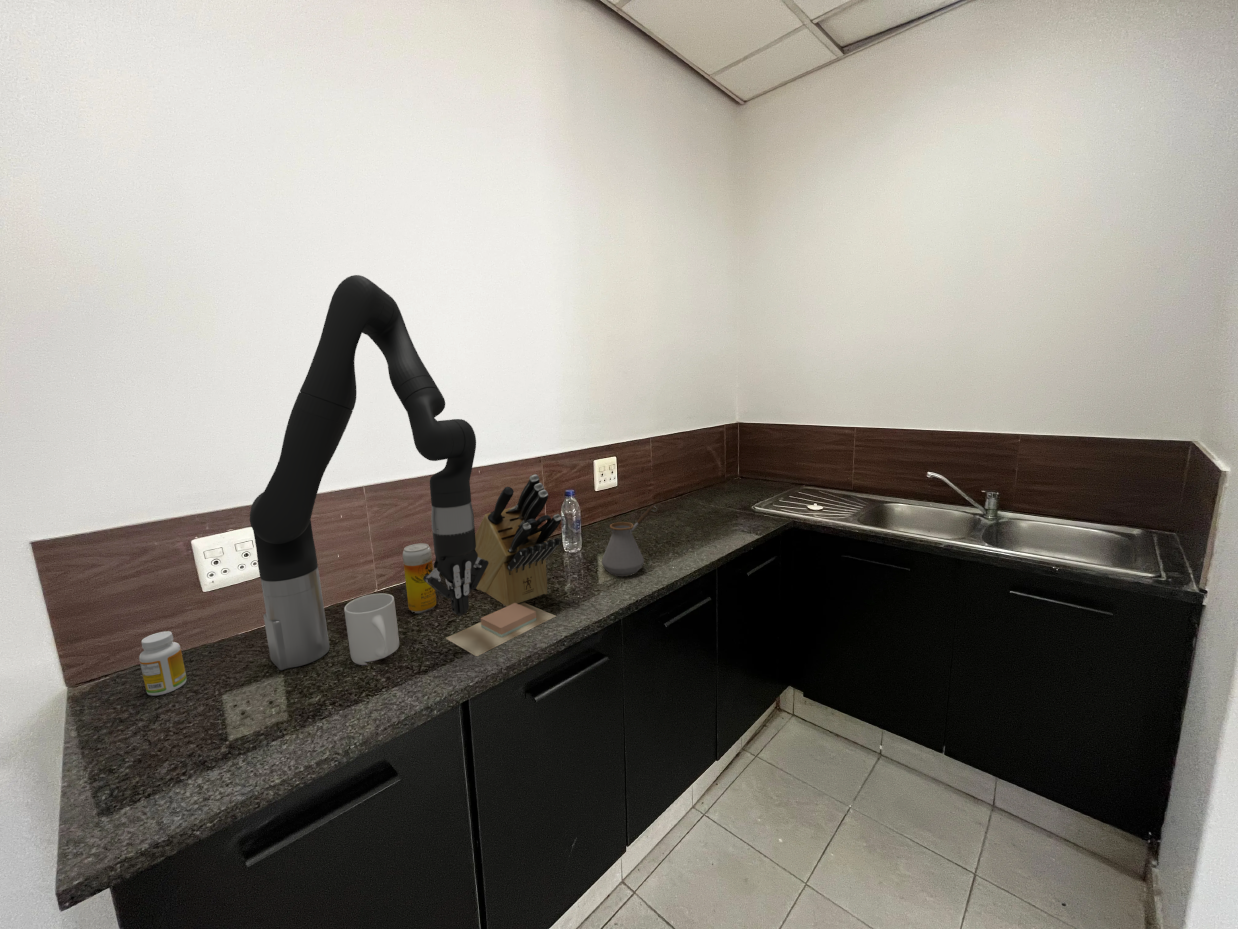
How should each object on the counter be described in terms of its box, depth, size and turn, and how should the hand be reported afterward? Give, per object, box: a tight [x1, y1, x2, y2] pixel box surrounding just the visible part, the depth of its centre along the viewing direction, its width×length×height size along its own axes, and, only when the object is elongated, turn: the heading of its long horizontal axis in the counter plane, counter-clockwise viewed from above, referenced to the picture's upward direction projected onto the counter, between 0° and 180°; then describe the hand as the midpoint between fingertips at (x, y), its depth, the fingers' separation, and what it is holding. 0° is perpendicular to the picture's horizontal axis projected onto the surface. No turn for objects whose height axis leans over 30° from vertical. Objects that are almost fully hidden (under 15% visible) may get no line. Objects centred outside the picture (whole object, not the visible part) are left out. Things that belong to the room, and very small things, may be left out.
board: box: [445, 602, 557, 657], centre depth 104 cm, size 20×11×1 cm, turn 139°
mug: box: [343, 592, 400, 666], centre depth 95 cm, size 9×12×11 cm
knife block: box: [475, 474, 563, 607], centre depth 120 cm, size 11×35×31 cm, turn 41°
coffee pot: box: [601, 504, 658, 577], centre depth 137 cm, size 21×12×15 cm, turn 142°
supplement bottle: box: [138, 630, 187, 696], centre depth 88 cm, size 5×5×10 cm
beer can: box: [402, 543, 437, 614], centre depth 115 cm, size 6×6×15 cm
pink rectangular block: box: [480, 603, 536, 637], centre depth 105 cm, size 2×7×9 cm
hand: (460, 613), depth 96 cm, fingers closed
